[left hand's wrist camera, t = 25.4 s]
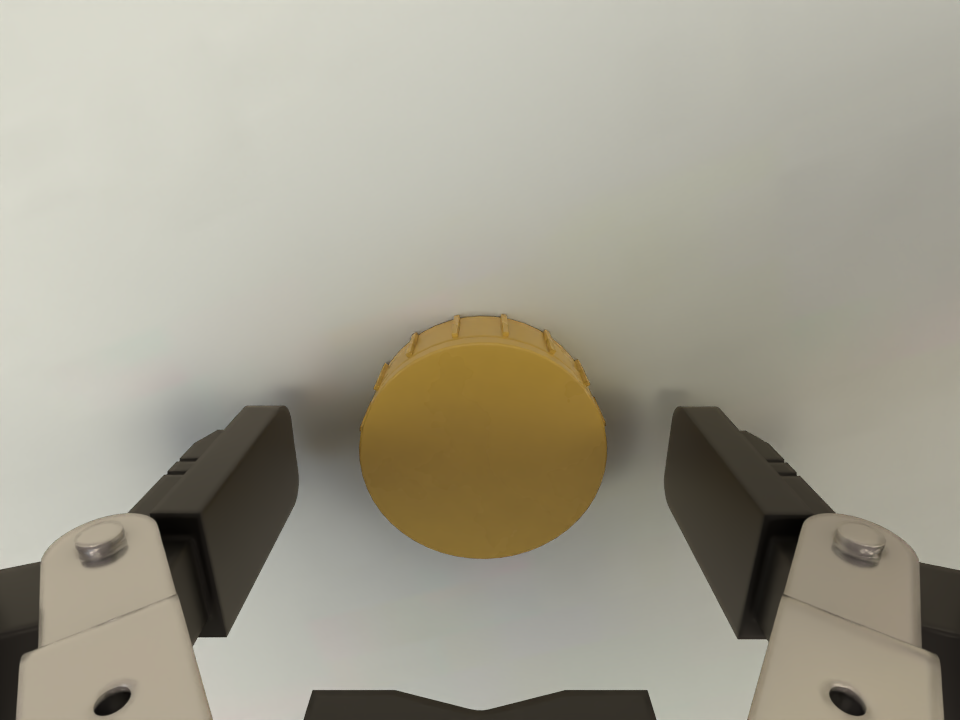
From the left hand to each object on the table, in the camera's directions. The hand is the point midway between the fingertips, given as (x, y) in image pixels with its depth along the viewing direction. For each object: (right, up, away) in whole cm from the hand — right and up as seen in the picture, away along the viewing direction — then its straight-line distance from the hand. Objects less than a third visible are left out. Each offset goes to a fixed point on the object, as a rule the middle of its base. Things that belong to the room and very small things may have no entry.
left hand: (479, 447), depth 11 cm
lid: (0, 0, 0) cm, 0 cm away
